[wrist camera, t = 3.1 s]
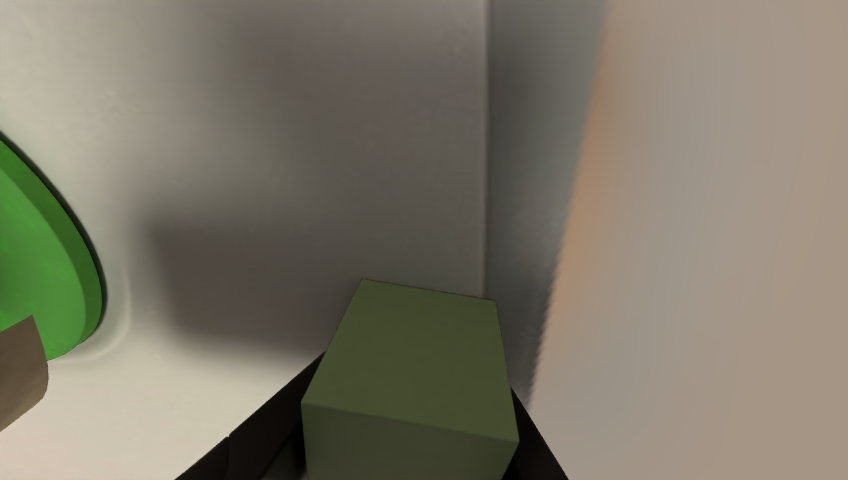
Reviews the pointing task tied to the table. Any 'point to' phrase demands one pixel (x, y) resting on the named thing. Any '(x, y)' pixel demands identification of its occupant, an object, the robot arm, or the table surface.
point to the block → (411, 390)
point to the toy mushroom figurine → (38, 286)
